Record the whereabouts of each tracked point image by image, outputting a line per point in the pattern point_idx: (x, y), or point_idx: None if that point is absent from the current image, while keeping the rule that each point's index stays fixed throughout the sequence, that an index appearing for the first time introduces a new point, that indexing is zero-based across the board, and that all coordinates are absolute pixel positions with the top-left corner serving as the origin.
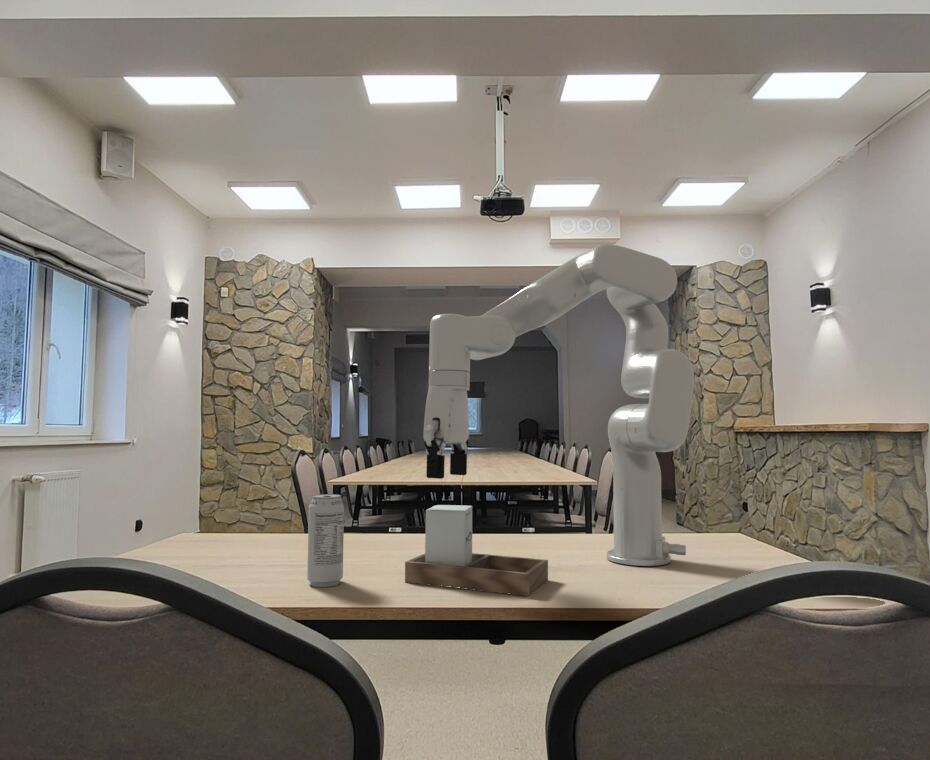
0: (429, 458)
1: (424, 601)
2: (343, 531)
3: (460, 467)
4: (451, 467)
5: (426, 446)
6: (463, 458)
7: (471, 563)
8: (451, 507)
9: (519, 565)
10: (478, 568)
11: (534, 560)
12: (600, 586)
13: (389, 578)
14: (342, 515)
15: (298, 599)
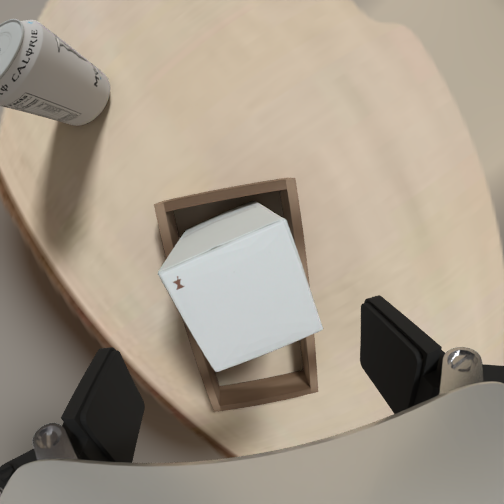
0: (64, 424)
1: (103, 299)
2: (57, 96)
3: (373, 367)
4: (377, 322)
5: (13, 464)
6: (393, 407)
7: None
8: (236, 318)
9: (305, 352)
10: (196, 348)
11: (309, 378)
12: (309, 421)
13: (169, 156)
14: (27, 97)
15: (19, 148)
